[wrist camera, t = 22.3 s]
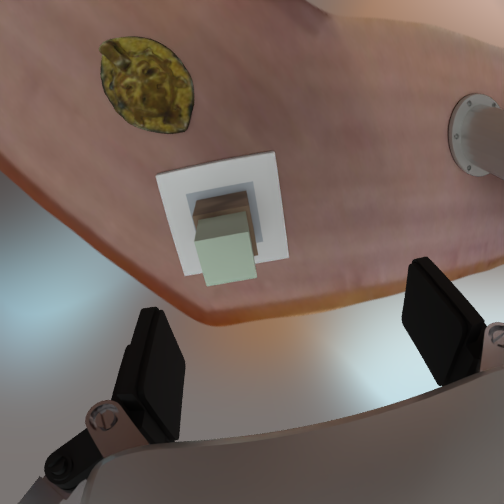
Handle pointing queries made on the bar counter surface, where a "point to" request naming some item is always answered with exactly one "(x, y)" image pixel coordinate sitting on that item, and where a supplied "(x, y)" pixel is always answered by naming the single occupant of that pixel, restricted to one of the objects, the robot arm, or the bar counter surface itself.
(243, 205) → the walnut block
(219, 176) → the board
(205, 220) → the sage cube
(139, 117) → the olive brown ornament
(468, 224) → the bar counter surface
